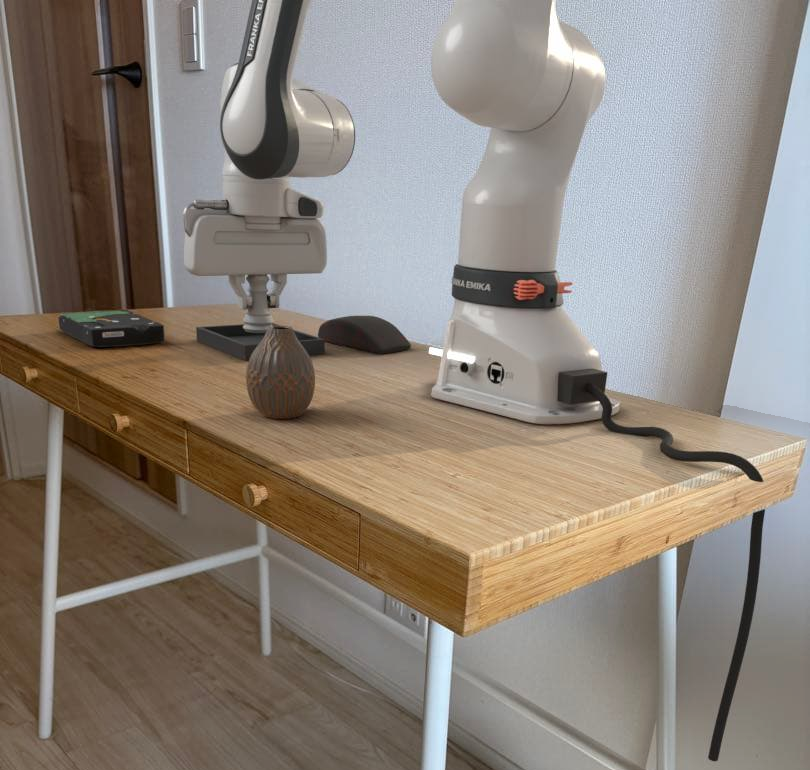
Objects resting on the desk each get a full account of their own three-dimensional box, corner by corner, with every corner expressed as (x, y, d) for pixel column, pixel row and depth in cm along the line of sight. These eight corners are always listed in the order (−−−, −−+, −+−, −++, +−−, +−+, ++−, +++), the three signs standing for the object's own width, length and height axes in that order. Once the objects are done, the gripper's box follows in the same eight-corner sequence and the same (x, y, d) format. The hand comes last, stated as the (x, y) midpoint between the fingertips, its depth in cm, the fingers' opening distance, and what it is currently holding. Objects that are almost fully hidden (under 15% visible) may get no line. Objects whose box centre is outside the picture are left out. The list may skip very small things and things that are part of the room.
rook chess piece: (278, 329, 119) (277, 270, 116) (270, 334, 115) (269, 274, 112) (247, 327, 119) (246, 268, 116) (238, 332, 115) (237, 272, 112)
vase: (276, 427, 81) (275, 335, 78) (233, 412, 85) (230, 325, 82) (328, 415, 86) (329, 329, 82) (285, 402, 90) (284, 319, 86)
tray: (324, 353, 116) (324, 339, 115) (245, 360, 109) (245, 345, 108) (271, 335, 127) (271, 322, 126) (196, 341, 120) (196, 327, 119)
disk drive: (167, 345, 117) (127, 326, 127) (166, 324, 116) (125, 308, 126) (93, 350, 111) (57, 330, 121) (91, 329, 110) (55, 311, 120)
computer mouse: (348, 335, 130) (349, 309, 129) (415, 349, 122) (416, 321, 121) (311, 340, 125) (311, 313, 123) (378, 355, 117) (379, 326, 115)
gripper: (192, 200, 102) (198, 315, 107) (333, 204, 114) (332, 308, 119) (172, 197, 107) (178, 308, 112) (309, 202, 118) (309, 302, 124)
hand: (258, 308), depth 116 cm, fingers closed on rook chess piece, 3 cm apart
